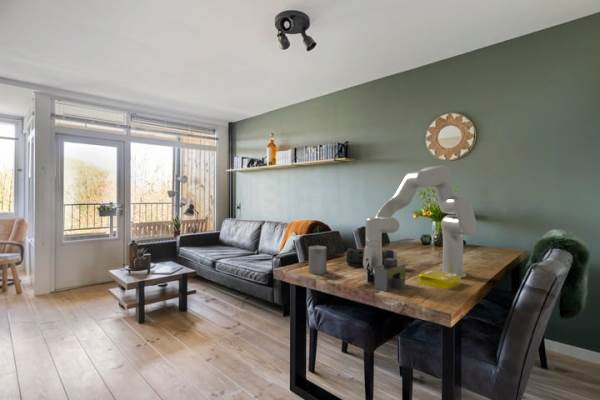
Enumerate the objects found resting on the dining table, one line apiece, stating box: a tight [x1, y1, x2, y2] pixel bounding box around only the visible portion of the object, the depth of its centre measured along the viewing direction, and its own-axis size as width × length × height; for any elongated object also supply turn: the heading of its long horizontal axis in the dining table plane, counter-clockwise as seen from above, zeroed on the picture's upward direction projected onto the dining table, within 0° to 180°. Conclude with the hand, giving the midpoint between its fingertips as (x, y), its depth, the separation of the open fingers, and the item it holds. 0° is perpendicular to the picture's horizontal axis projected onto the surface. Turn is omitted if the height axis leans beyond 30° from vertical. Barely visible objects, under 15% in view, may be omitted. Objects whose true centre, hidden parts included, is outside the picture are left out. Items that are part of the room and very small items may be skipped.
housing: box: [374, 258, 406, 292], centre depth 141 cm, size 16×6×12 cm, turn 134°
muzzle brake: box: [346, 247, 398, 267], centre depth 180 cm, size 10×28×10 cm, turn 73°
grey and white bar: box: [365, 269, 406, 291], centre depth 143 cm, size 4×18×5 cm, turn 44°
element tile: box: [418, 269, 462, 290], centre depth 147 cm, size 15×15×5 cm
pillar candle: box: [308, 244, 328, 275], centre depth 166 cm, size 10×10×15 cm
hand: (373, 281), depth 148 cm, fingers closed on grey and white bar, 4 cm apart
